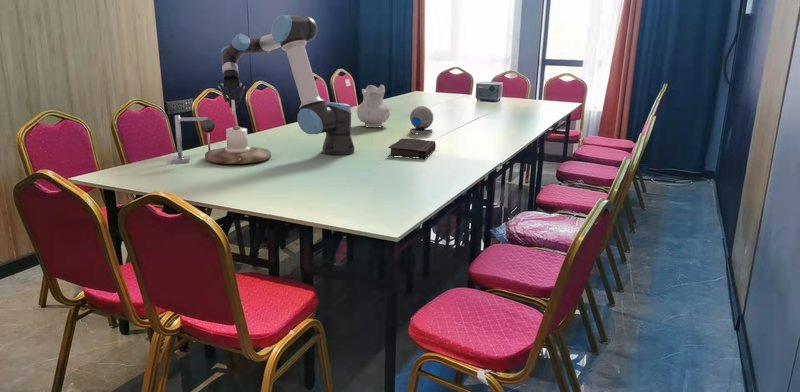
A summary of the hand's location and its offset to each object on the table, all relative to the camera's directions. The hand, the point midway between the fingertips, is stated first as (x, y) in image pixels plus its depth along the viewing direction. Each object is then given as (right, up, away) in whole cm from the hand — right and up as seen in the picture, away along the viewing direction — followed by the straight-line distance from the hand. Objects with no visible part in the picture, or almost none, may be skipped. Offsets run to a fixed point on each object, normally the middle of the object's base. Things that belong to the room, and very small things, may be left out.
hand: (233, 112), depth 283 cm
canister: (+6, -19, -16) cm, 26 cm away
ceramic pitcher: (+63, +1, +69) cm, 93 cm away
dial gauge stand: (-10, -24, -25) cm, 36 cm away
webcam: (+91, -4, +54) cm, 106 cm away
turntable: (+8, -23, -20) cm, 31 cm away
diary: (+85, -20, +2) cm, 87 cm away
